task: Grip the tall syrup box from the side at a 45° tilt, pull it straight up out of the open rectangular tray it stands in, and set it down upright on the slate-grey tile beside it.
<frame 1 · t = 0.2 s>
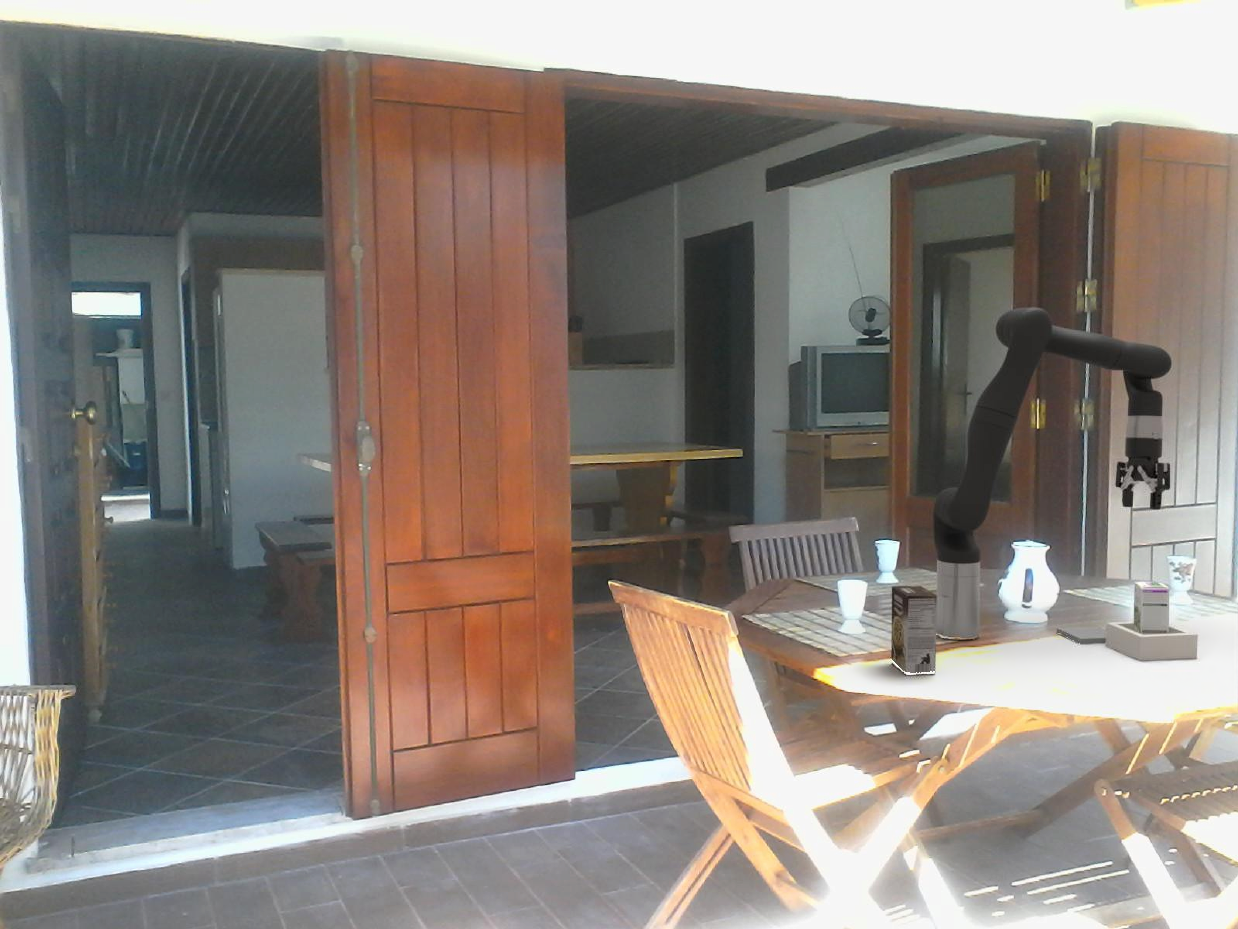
hand: (1141, 508, 245), 28 cm above the table, tool pointing down, fingers open, 8 cm apart
syrup box: (1150, 652, 228), resting in open rectangular tray
tile: (1089, 637, 241), on the table
coffee box: (912, 670, 217), on the table
open rectangular tray: (1150, 651, 228), on the table
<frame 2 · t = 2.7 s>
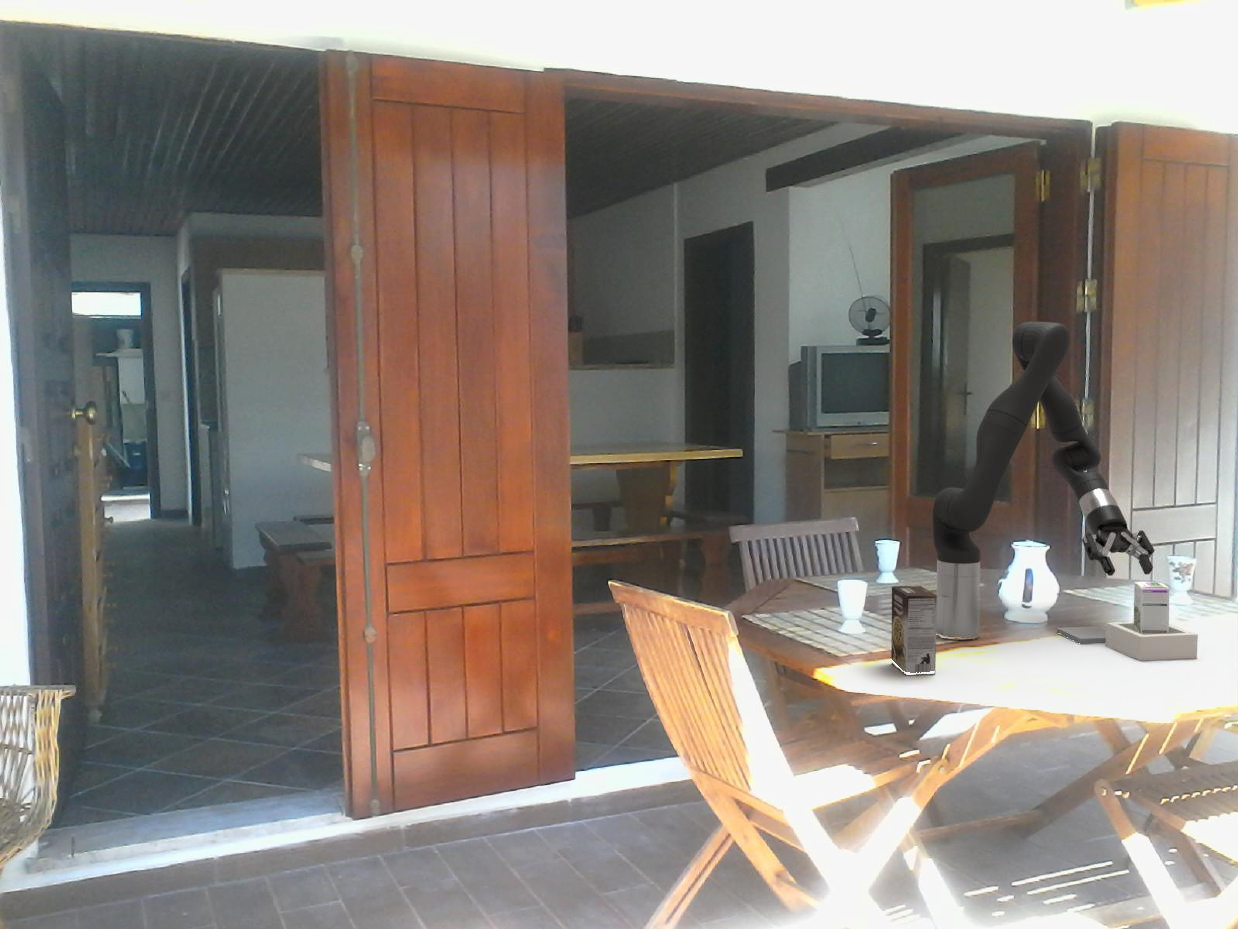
hand: (1130, 573, 235), 15 cm above the table, tool tilted 45°, fingers open, 8 cm apart
nothing on the table moved.
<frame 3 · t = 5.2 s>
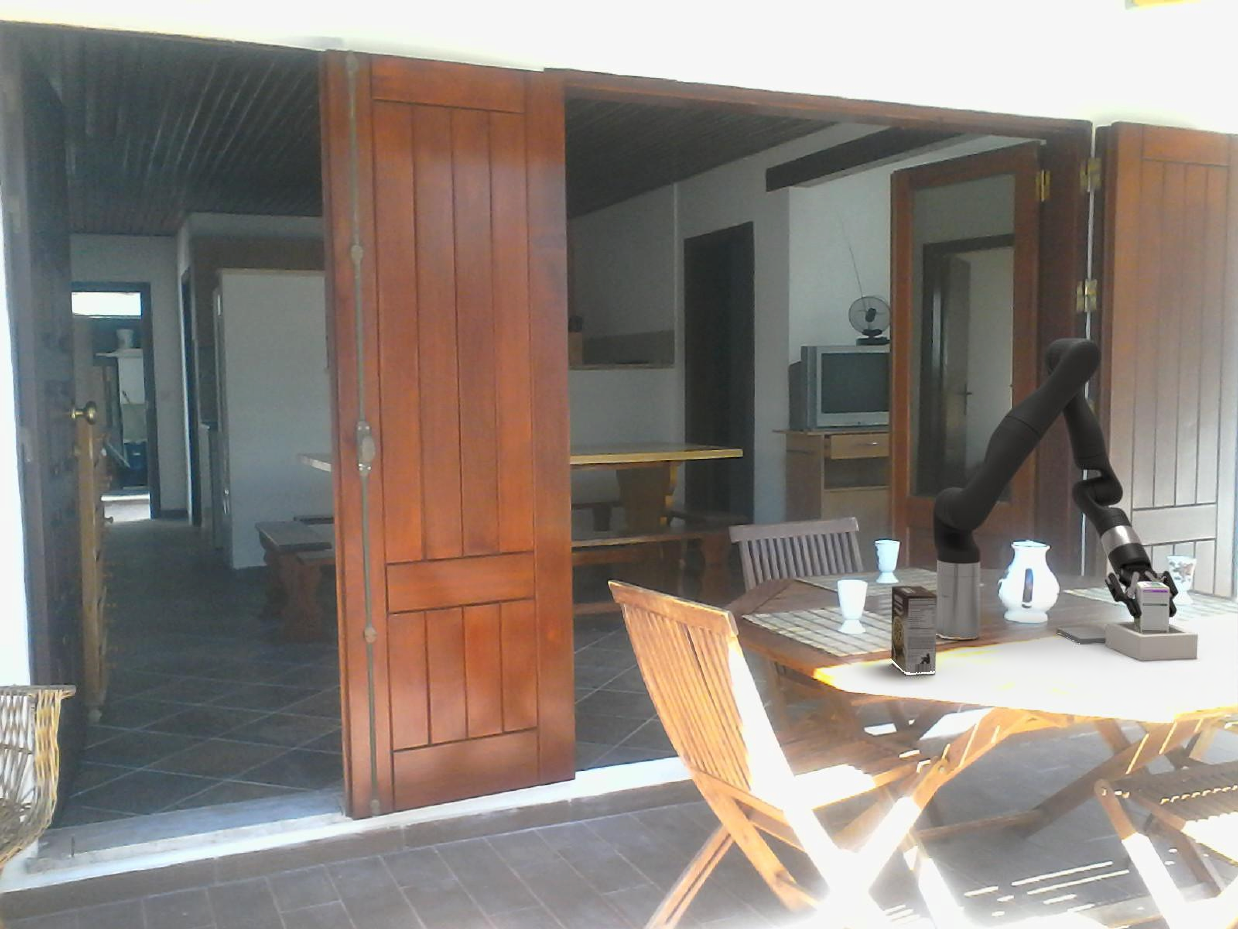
hand: (1155, 616, 226), 8 cm above the table, tool tilted 45°, fingers closed on syrup box, 7 cm apart
syrup box: (1150, 652, 228), resting in open rectangular tray, touching gripper
everything else where it was.
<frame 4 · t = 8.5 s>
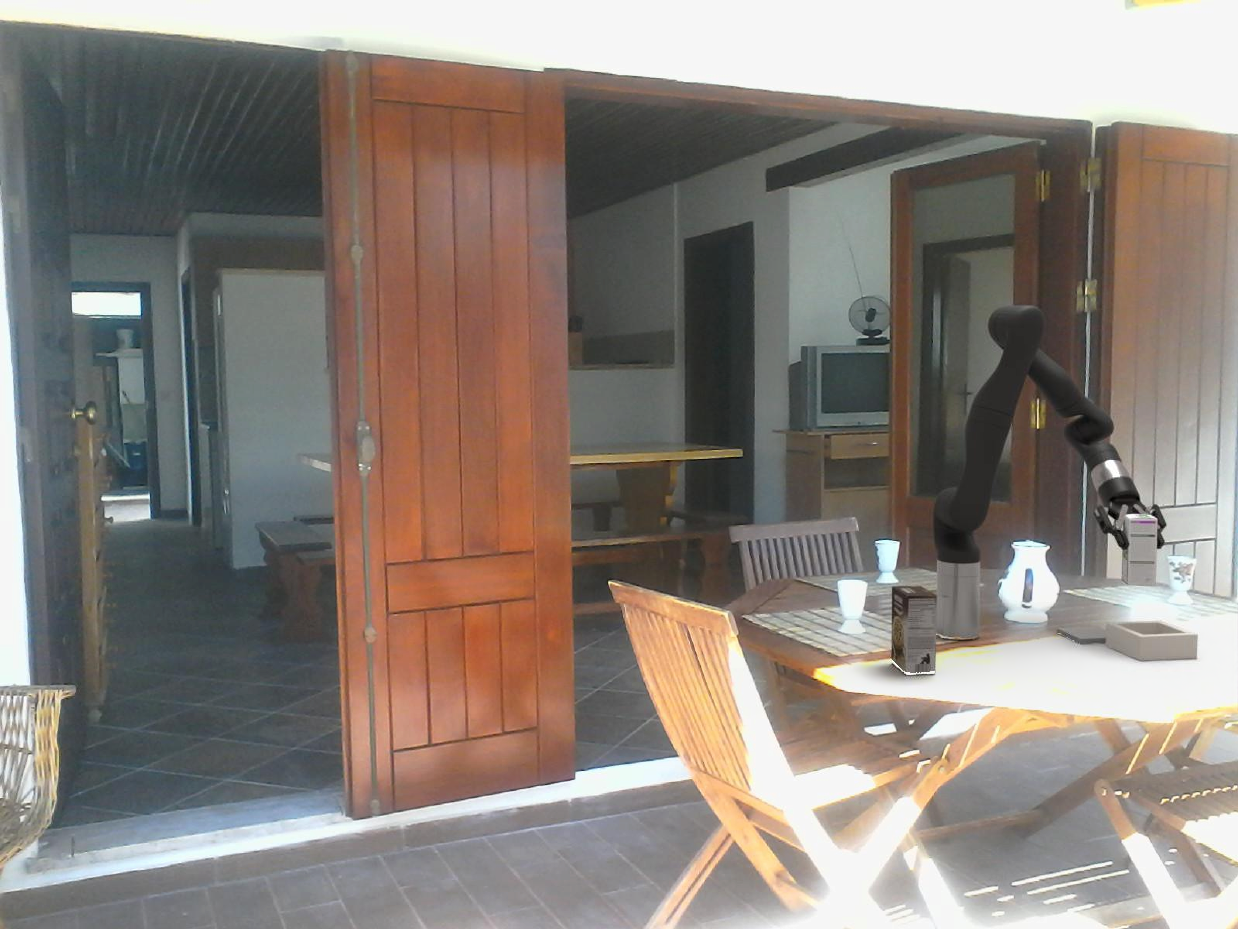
hand: (1143, 547, 227), 22 cm above the table, tool tilted 45°, fingers closed on syrup box, 7 cm apart
syrup box: (1137, 584, 230), point 14 cm above the table, touching gripper
everything else where it was.
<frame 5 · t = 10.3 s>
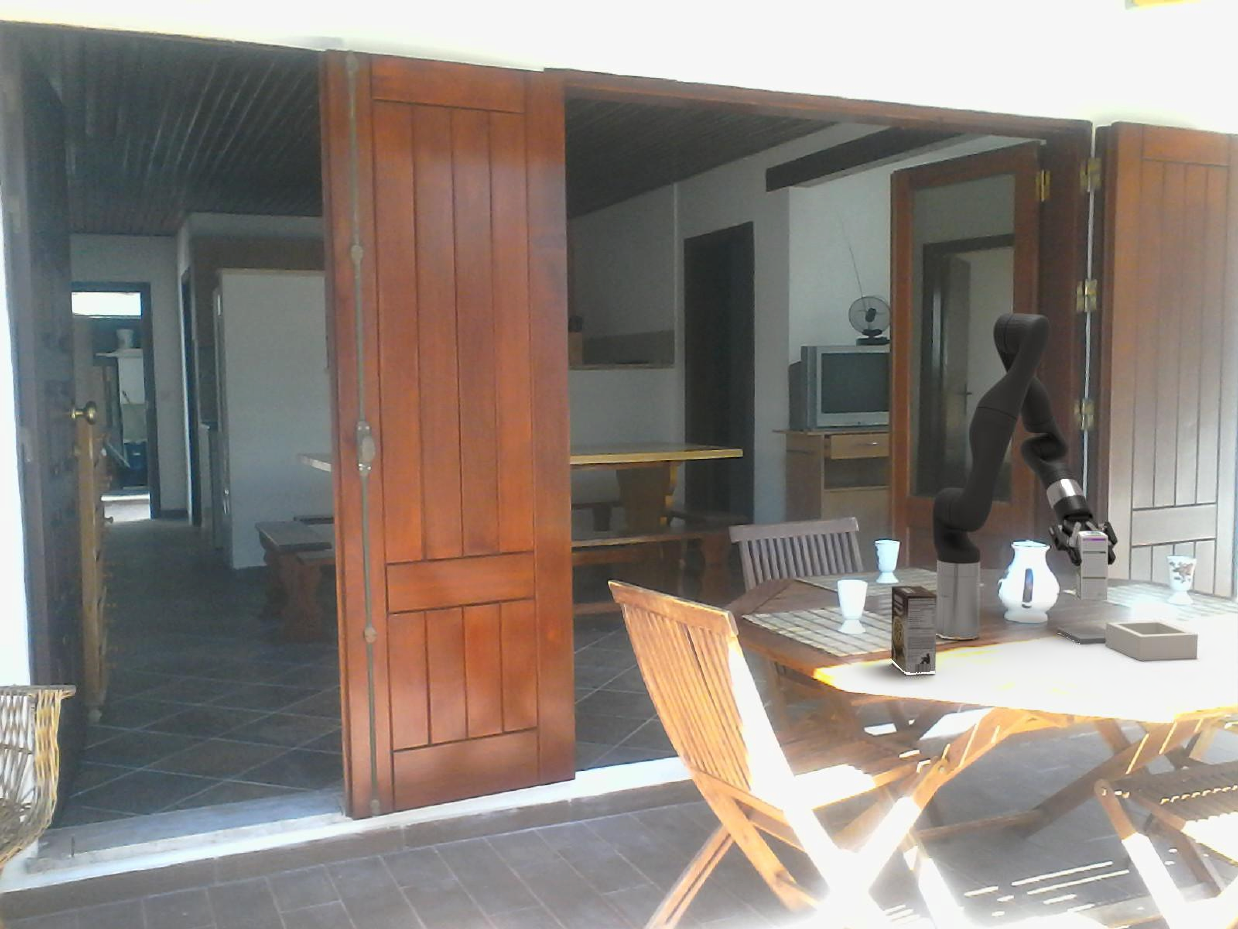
hand: (1095, 563, 238), 17 cm above the table, tool tilted 45°, fingers closed on syrup box, 7 cm apart
syrup box: (1090, 598, 240), point 9 cm above the table, touching gripper
everything else where it was.
when the fingers open (11 cm above the table, at t = 12.0 s): syrup box drops 2 cm, resting on tile.
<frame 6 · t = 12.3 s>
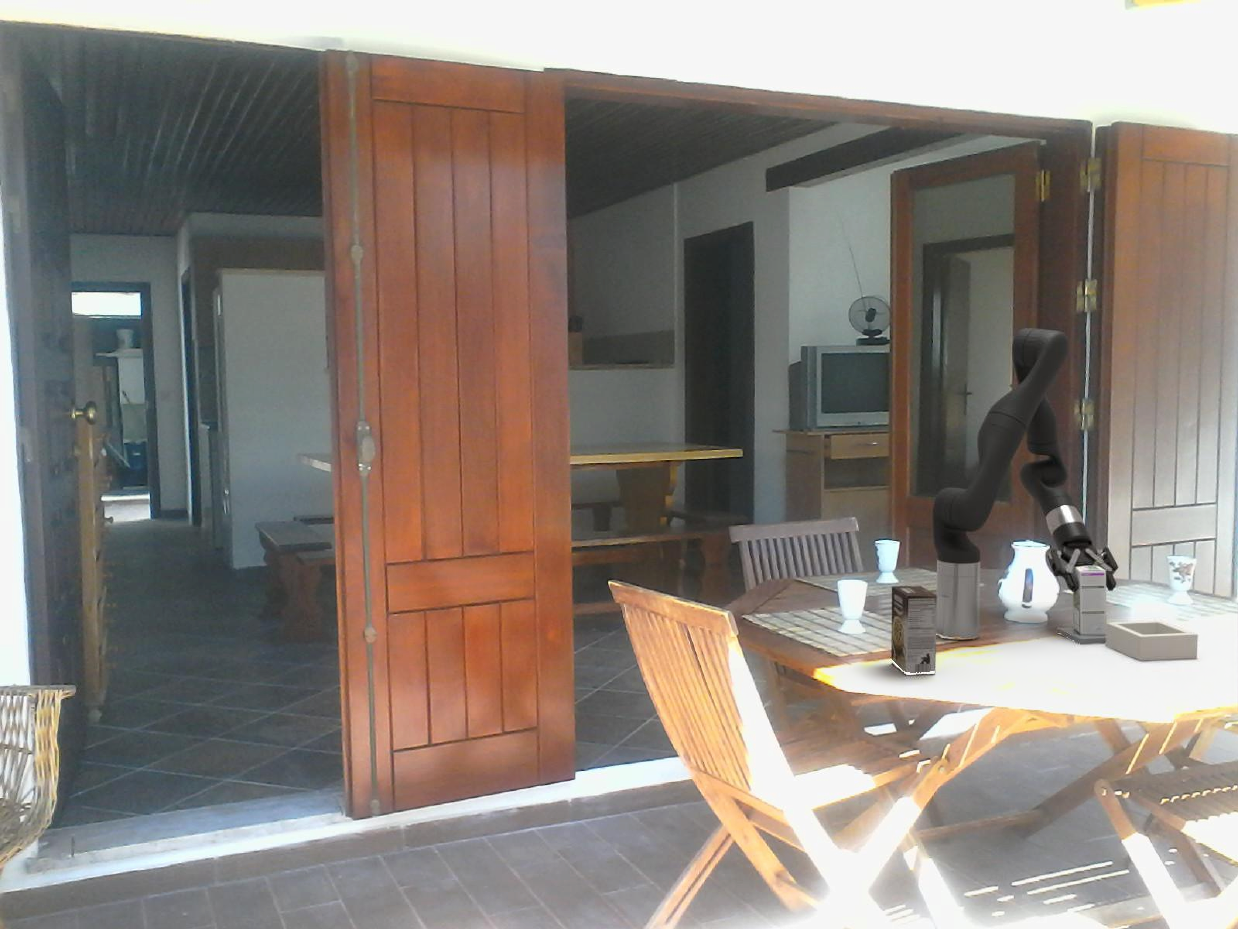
hand: (1094, 589, 238), 11 cm above the table, tool tilted 45°, fingers open, 8 cm apart
syrup box: (1089, 632, 241), point 1 cm above the table, touching tile
everything else where it was.
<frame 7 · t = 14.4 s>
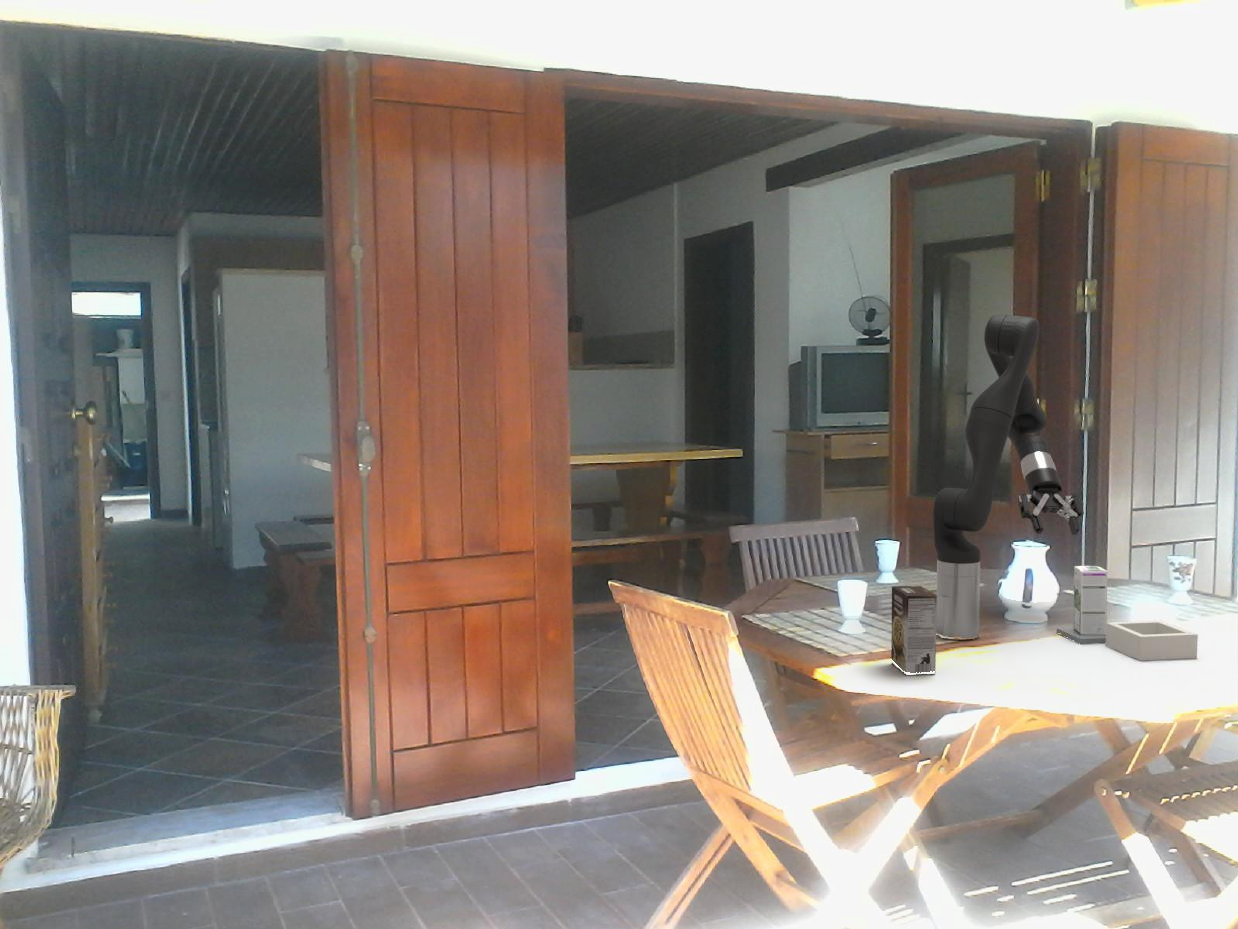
hand: (1058, 532, 251), 22 cm above the table, tool tilted 40°, fingers open, 8 cm apart
nothing on the table moved.
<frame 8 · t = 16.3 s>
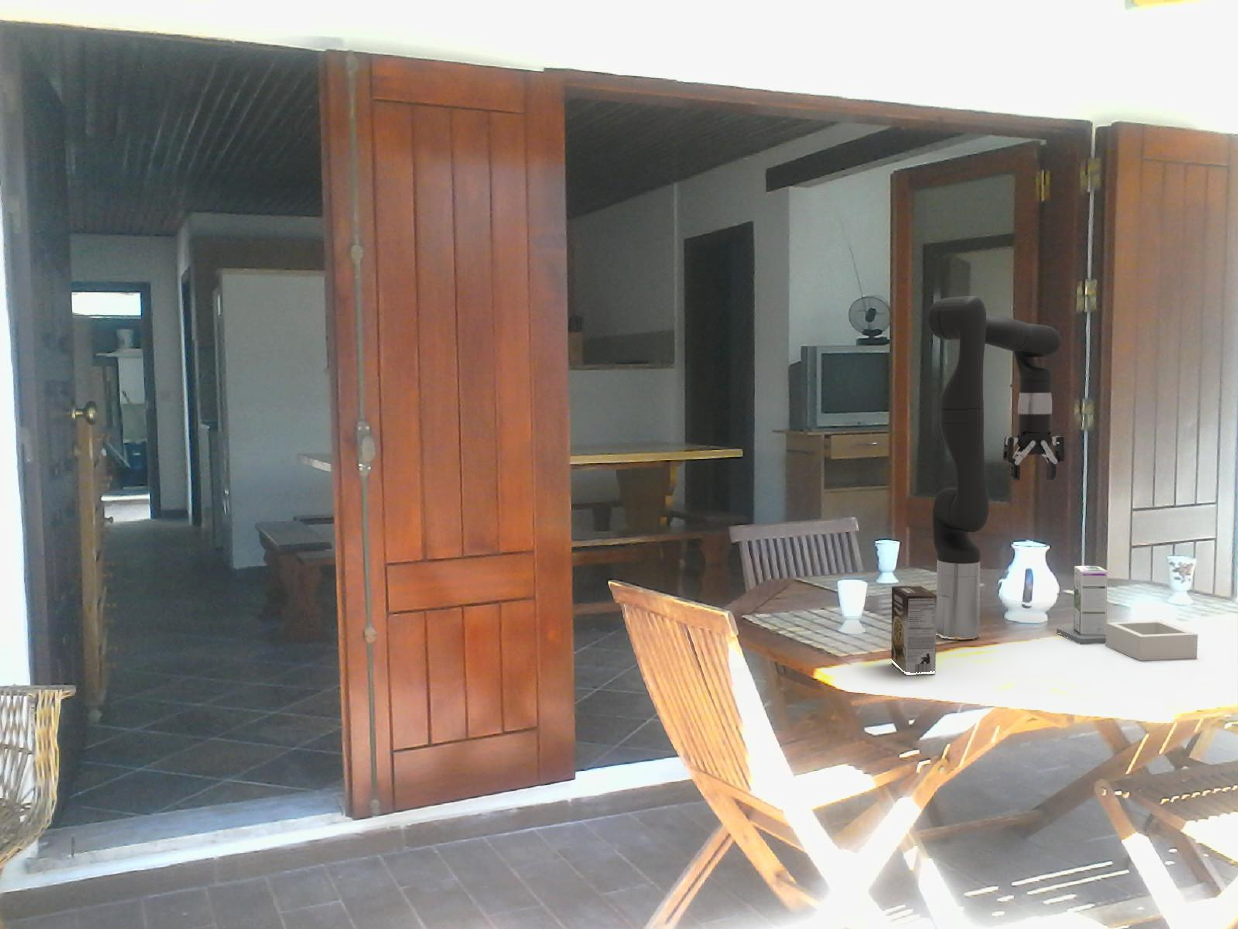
hand: (1033, 480, 258), 33 cm above the table, tool pointing down, fingers open, 8 cm apart
nothing on the table moved.
at the end: syrup box 0.2 cm from the tile (horizontally); syrup box tilted 0°; the gripper is holding nothing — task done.
